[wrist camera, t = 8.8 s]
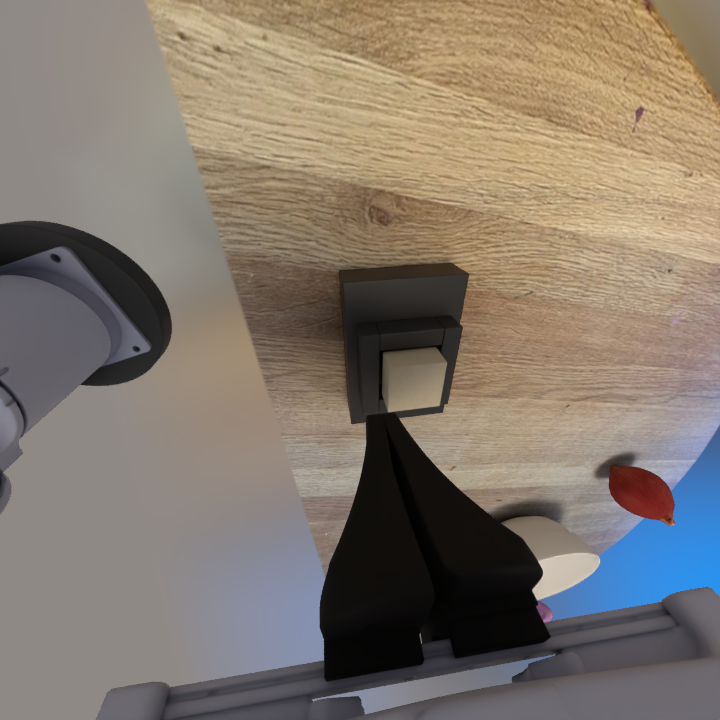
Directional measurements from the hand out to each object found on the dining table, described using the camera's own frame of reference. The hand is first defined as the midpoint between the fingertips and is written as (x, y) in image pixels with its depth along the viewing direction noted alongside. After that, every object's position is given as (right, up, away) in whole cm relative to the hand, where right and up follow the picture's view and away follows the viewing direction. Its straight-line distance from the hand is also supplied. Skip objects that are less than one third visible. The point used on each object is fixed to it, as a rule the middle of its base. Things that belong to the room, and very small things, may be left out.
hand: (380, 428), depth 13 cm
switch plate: (+2, +5, +9) cm, 11 cm away
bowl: (+23, -25, +33) cm, 47 cm away
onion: (+35, -12, +26) cm, 45 cm away
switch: (+2, +2, +6) cm, 7 cm away
